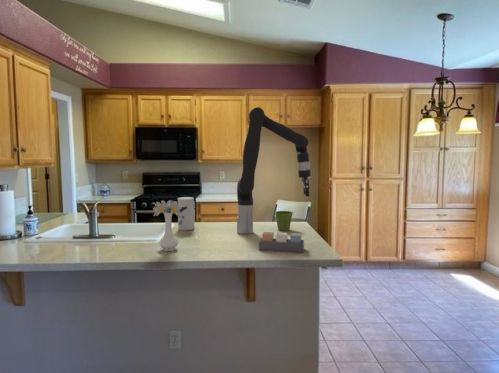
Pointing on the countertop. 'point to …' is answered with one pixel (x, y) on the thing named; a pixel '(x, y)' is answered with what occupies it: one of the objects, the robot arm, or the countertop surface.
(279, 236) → the white key
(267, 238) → the terracotta key
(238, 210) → the robot arm
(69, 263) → the countertop surface
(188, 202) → the container
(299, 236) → the slate key
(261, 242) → the key panel
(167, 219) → the flower vase
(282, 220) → the plant pot
